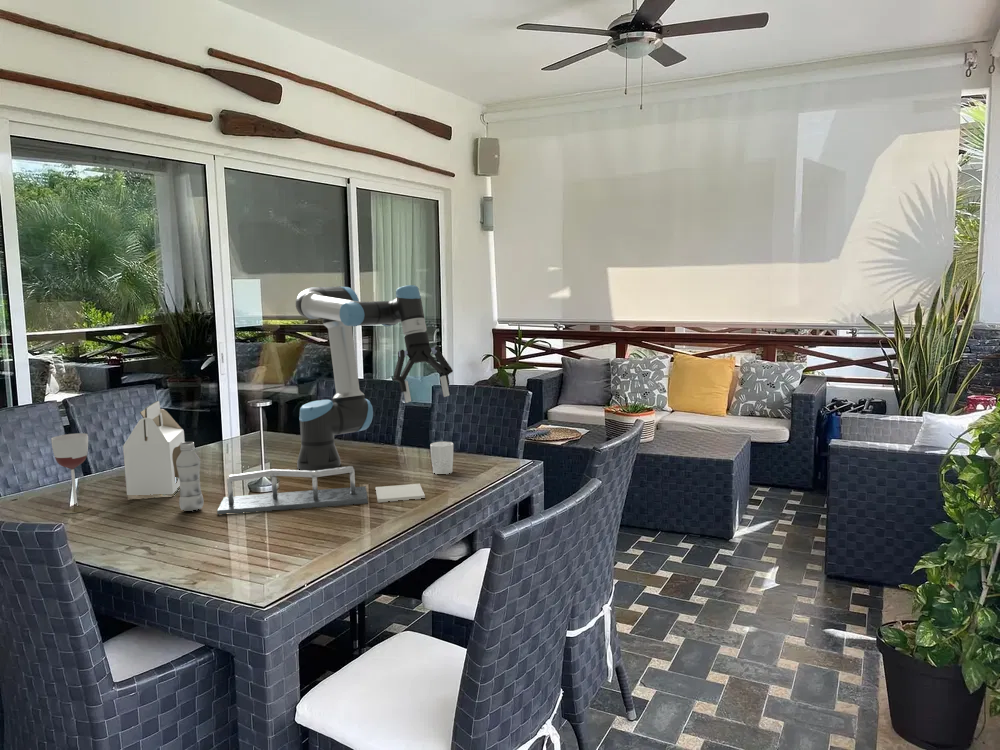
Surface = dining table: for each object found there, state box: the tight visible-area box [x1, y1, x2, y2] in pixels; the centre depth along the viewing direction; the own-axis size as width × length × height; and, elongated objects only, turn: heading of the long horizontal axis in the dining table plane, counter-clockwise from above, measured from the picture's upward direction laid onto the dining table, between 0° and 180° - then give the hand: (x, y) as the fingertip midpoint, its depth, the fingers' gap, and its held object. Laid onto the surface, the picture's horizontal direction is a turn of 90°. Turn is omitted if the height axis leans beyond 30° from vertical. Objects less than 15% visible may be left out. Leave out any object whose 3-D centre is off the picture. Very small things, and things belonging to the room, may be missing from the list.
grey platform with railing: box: [216, 465, 369, 514], centre depth 219 cm, size 14×42×10 cm, turn 103°
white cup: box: [429, 441, 454, 475], centre depth 252 cm, size 8×8×10 cm
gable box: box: [122, 400, 186, 496], centre depth 236 cm, size 22×13×28 cm, turn 12°
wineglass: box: [51, 432, 89, 505], centre depth 216 cm, size 9×10×22 cm
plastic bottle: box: [176, 441, 204, 512], centre depth 212 cm, size 6×7×20 cm
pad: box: [375, 483, 426, 503], centre depth 226 cm, size 14×14×1 cm
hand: (427, 399), depth 232 cm, fingers open, 13 cm apart
